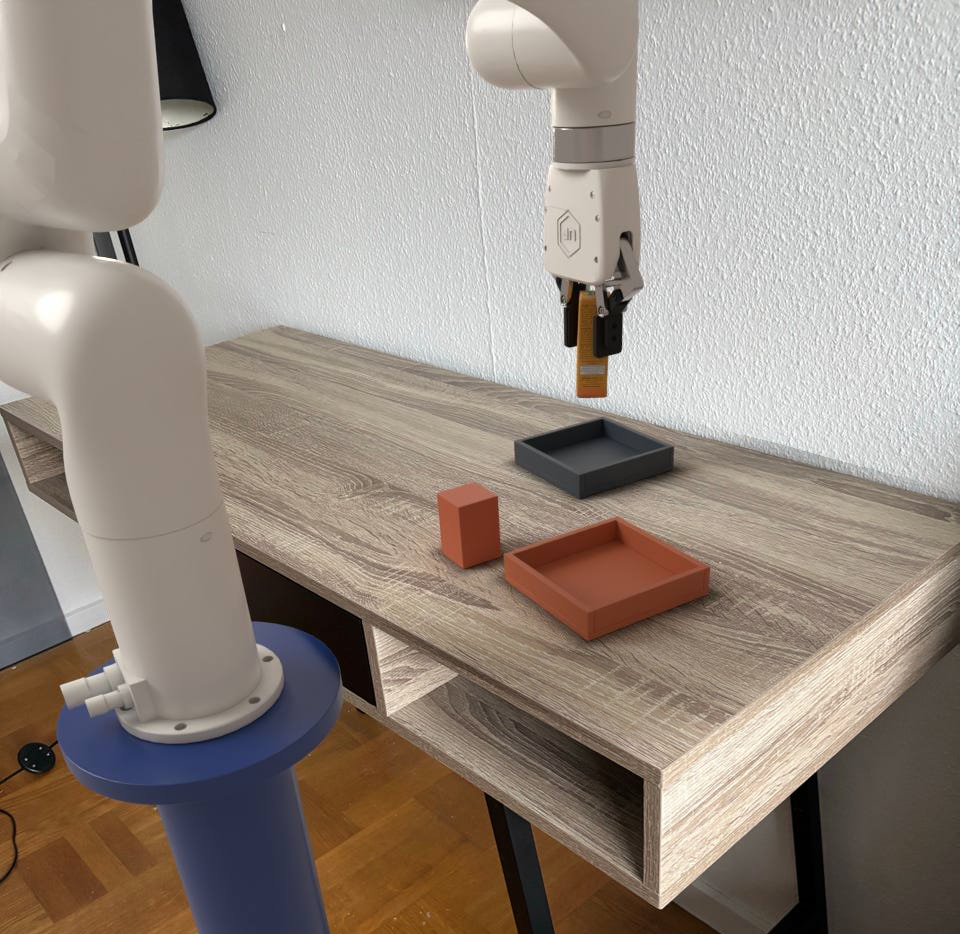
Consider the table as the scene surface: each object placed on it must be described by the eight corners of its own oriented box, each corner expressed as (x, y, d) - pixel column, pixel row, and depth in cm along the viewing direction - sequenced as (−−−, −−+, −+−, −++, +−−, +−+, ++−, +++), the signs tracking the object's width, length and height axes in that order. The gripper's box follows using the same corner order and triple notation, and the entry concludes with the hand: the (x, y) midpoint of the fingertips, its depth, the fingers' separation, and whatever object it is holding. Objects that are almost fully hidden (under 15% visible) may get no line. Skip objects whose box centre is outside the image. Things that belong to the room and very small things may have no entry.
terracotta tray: (588, 641, 73) (588, 612, 71) (504, 580, 82) (503, 553, 80) (708, 594, 78) (710, 566, 76) (617, 541, 87) (617, 515, 85)
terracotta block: (463, 569, 84) (458, 507, 81) (441, 552, 87) (436, 492, 84) (501, 556, 86) (498, 495, 82) (479, 541, 89) (475, 481, 85)
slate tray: (579, 499, 95) (579, 475, 94) (514, 463, 104) (513, 440, 103) (673, 469, 100) (674, 446, 99) (603, 437, 109) (603, 416, 108)
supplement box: (610, 398, 96) (611, 296, 91) (576, 399, 97) (575, 298, 91) (608, 387, 99) (610, 288, 94) (576, 389, 99) (575, 290, 94)
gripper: (509, 147, 90) (516, 340, 100) (617, 156, 78) (613, 376, 88) (573, 139, 93) (574, 327, 103) (687, 147, 81) (676, 360, 91)
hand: (592, 348), depth 95 cm, fingers closed on supplement box, 4 cm apart
